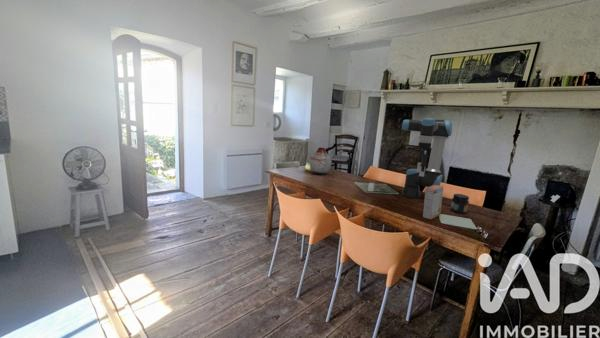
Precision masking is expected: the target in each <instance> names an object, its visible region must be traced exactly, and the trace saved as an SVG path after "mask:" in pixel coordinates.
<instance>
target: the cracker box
mask: <svg viewBox="0 0 600 338" xmlns="http://www.w3.org/2000/svg"><path fill="white" fill-rule="evenodd" d="M443 194H444V186H443V185H440V186H439V185H433V186H430V187H425V190H424V199H423V200H424V201H423V211H422V218H424V219H426V220H429V221H431V220H433V219H435V218H439V216H440V214H441V212H442V202H443Z"/></svg>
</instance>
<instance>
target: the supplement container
mask: <svg viewBox="0 0 600 338" xmlns="http://www.w3.org/2000/svg"><path fill="white" fill-rule="evenodd" d="M469 199H470V196H468V195H466V194H462V193H454V194H453V197H452V199H451V204H450V211H452V212H454V213H456V214H467V211H468V208H469V203H470V201H469Z"/></svg>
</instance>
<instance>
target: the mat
mask: <svg viewBox="0 0 600 338" xmlns="http://www.w3.org/2000/svg"><path fill="white" fill-rule="evenodd" d="M438 218H439V221H440V223H441V224H445V225H447V226H448V225H449V226H455V227H459V228H465V229H470V230H476V229H478V227H476V225H475V223H474V222H473V221H472V219H471V218H466V217H460V216H455V215H450V214H443V213H442V214H441V213H440V216H438Z"/></svg>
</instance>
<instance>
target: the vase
mask: <svg viewBox="0 0 600 338" xmlns="http://www.w3.org/2000/svg"><path fill="white" fill-rule="evenodd" d="M331 167H332V157H331V155H329V153H328V152H327V151H326V147H318V148H317V150H316V151H315V152H314V153H312V155H311V156H310V157H309V168H310V170H311V171H312V173H313V174H315V175H317V176H319V175H320V176H324V175H326V174H327V173H329V171H330V169H331Z"/></svg>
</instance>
